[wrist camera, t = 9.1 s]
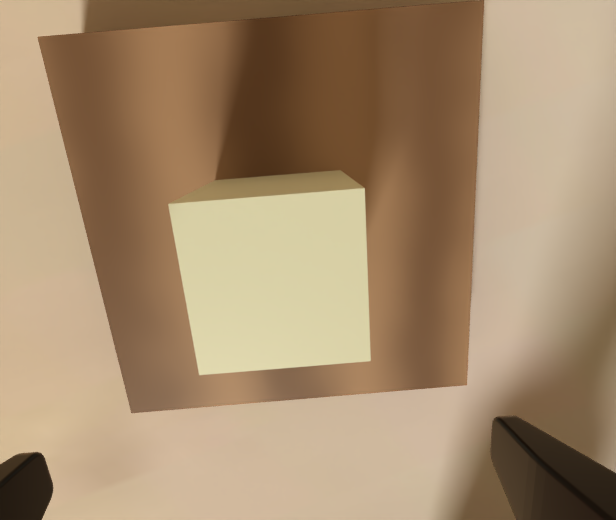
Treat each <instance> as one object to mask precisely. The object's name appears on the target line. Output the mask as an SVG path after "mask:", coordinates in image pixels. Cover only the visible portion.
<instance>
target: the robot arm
mask: <svg viewBox="0 0 616 520" xmlns="http://www.w3.org/2000/svg"><path fill="white" fill-rule="evenodd" d="M491 458H492V462H493V465H494V467H495V470H496V472H497V475H498V477H499V479H500V482H501V484H502V487H503V489H504V491H505V494H506V496H507V498H508V501H509V503H510V506H511V508H512V510H513V513H514V515H515V518H516V520H616V473H615V472H613V471H611V470H609V469H608V468H606V467H604V466H602V465H601V464H599V463H597V462H595V461H594V460H592V459H590V458H588V457H587V456H585V455H583V454H582V453H580V452H578V451H576V450H575V449H573V448H571V447H569V446H568V445H566V444H564V443H562V442H561V441H559V440H557V439H555V438H554V437H552V436H550V435H549V434H547V433H545V432H543V431H542V430H540V429H538V428H536V427H535V426H533V425H531V424H529V423H528V422H526V421H524V420H522V419H521V418H519V417H517V416H501V417H496V418H494V420H493V423H492V435H491ZM52 493H53V483H52V479H51V476H50V473H49V470H48V467H47V464H46V461H45V458H44V456H43V455H42V454H41V453H39V452H32V453H21V454H17V455H15V456H13V457H12V458H10V459H8V460H7V461H5V462H3V463H2V464H0V520H42V518H43V516H44V513H45V511H46V509H47V507H48V504H49V502H50V500H51V497H52Z"/></svg>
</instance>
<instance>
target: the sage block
mask: <svg viewBox="0 0 616 520" xmlns="http://www.w3.org/2000/svg"><path fill="white" fill-rule="evenodd" d="M168 206H169V212H170V217H171V223H172V228H173V234H174V239H175V245H176V250H177V256H178V261H179V267H180V272H181V278H182V283H183V289H184V294H185V300H186V305H187V311H188V316H189V322H190V327H191V333H192V338H193V344H194V349H195V355H196V360H197V366H198V371H199V375H208V374H221V373H233V372H245V371H257V370H270V369H282V368H294V367H306V366H318V365H331V364H343V363H355V362H367V361H371V354H370V325H369V296H368V267H367V238H366V210H365V188H364V187H363V186H361V185H360V184H358V183H357V182H356V181H354V180H353V179H352V178H350V177H349V176H348V175H346V174H345V173H344V172H342V171H341V170H335V171H323V172H310V173H298V174H286V175H273V176H261V177H249V178H236V179H224V180H215V181H213V182H211V183H209V184H207V185H205V186H203V187H201V188H199V189H197V190H195V191H193V192H191V193H189V194H187V195H185V196H183V197H181V198H179V199H177V200H175V201H173V202H171V203H169V204H168Z"/></svg>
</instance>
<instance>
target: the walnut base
mask: <svg viewBox="0 0 616 520" xmlns="http://www.w3.org/2000/svg"><path fill="white" fill-rule="evenodd" d="M483 13H484V0H477V1H465V2H453V3H441V4H429V5H417V6H405V7H393V8H380V9H368V10H356V11H344V12H332V13H320V14H308V15H296V16H284V17H272V18H260V19H247V20H235V21H223V22H211V23H199V24H187V25H175V26H163V27H151V28H139V29H126V30H114V31H102V32H90V33H78V34H66V35H54V36H42V37H38V41H39V45H40V49H41V53H42V57H43V61H44V65H45V69H46V73H47V77H48V81H49V85H50V89H51V93H52V97H53V101H54V105H55V109H56V113H57V117H58V121H59V125H60V129H61V133H62V137H63V141H64V145H65V149H66V153H67V157H68V161H69V165H70V169H71V173H72V177H73V181H74V185H75V189H76V193H77V197H78V201H79V205H80V209H81V213H82V217H83V221H84V225H85V229H86V233H87V237H88V241H89V245H90V249H91V253H92V257H93V261H94V265H95V269H96V273H97V277H98V281H99V285H100V289H101V293H102V297H103V301H104V305H105V309H106V313H107V317H108V321H109V325H110V329H111V333H112V337H113V341H114V345H115V349H116V353H117V357H118V361H119V365H120V369H121V373H122V377H123V381H124V385H125V389H126V393H127V397H128V401H129V405H130V409H131V413H139V412H151V411H163V410H175V409H186V408H198V407H210V406H222V405H234V404H246V403H258V402H270V401H282V400H294V399H306V398H318V397H330V396H342V395H354V394H366V393H378V392H390V391H402V390H413V389H425V388H437V387H449V386H461V385H467V370H468V348H469V325H470V303H471V281H472V258H473V236H474V214H475V191H476V169H477V147H478V125H479V102H480V80H481V58H482V35H483ZM335 170H341V171H342V172H344V173H345V174H346V175H348V176H349V177H350V178H352V179H353V180H354V181H356V182H357V183H358V184H360V185H361V186H363V187H364V188H365V210H366V238H367V267H368V296H369V325H370V354H371V361H367V362H355V363H343V364H331V365H318V366H306V367H294V368H282V369H270V370H257V371H245V372H233V373H221V374H208V375H199V371H198V366H197V360H196V355H195V349H194V344H193V338H192V333H191V327H190V322H189V316H188V311H187V305H186V300H185V294H184V289H183V283H182V278H181V272H180V267H179V261H178V256H177V250H176V245H175V239H174V234H173V228H172V223H171V217H170V212H169V206H168V204H169V203H171V202H173V201H175V200H177V199H179V198H181V197H183V196H185V195H187V194H189V193H191V192H193V191H195V190H197V189H199V188H201V187H203V186H205V185H207V184H209V183H211V182H213V181H215V180H224V179H236V178H249V177H261V176H273V175H286V174H298V173H310V172H323V171H335Z"/></svg>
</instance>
